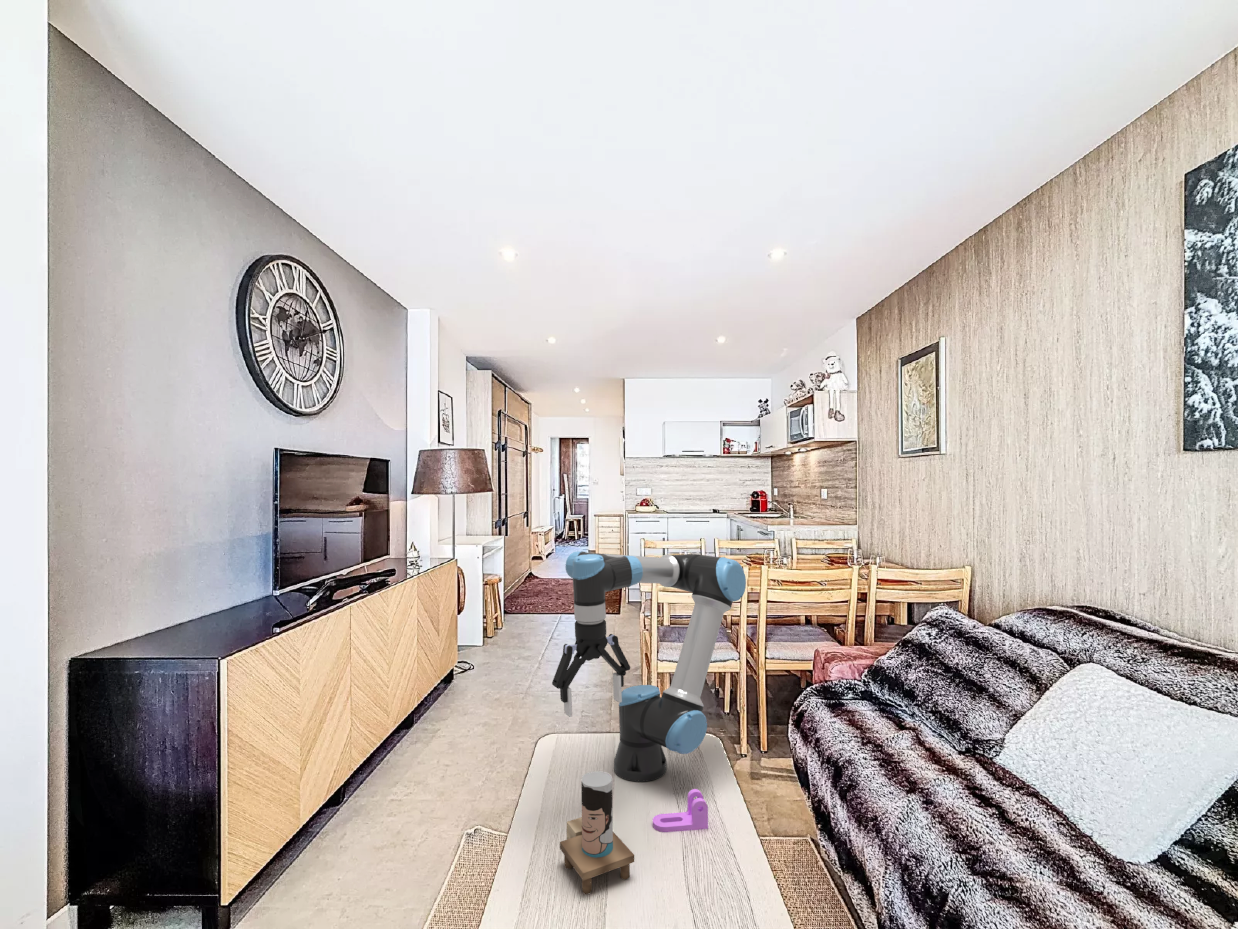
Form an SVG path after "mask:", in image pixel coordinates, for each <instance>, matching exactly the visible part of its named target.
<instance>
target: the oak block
mask: <svg viewBox="0 0 1238 929" xmlns="http://www.w3.org/2000/svg"><path fill="white" fill-rule="evenodd" d="M580 835H582V816H581V817H577V818H574V819H572V820H571V819H570V820H568V821H566V840H567V839H570V838H573V837H576V836H580Z"/></svg>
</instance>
